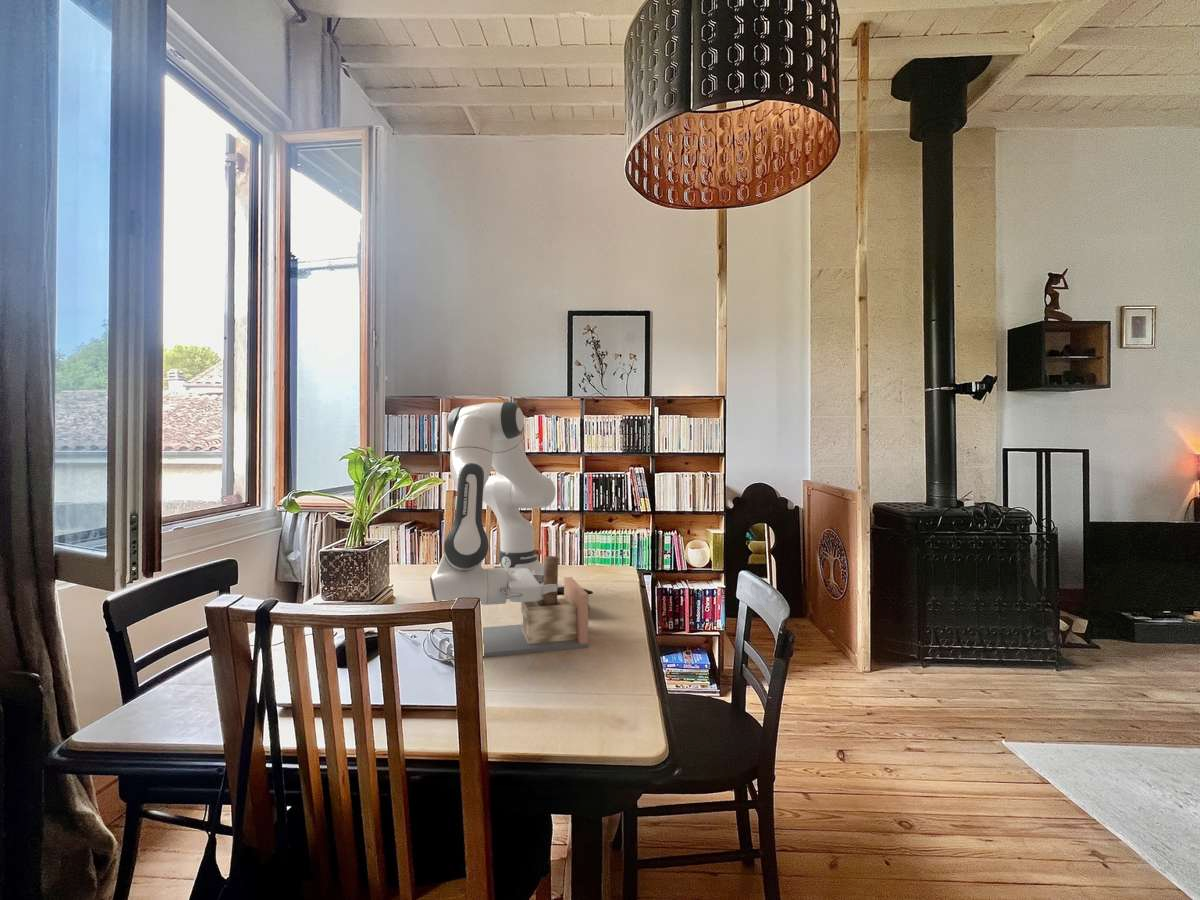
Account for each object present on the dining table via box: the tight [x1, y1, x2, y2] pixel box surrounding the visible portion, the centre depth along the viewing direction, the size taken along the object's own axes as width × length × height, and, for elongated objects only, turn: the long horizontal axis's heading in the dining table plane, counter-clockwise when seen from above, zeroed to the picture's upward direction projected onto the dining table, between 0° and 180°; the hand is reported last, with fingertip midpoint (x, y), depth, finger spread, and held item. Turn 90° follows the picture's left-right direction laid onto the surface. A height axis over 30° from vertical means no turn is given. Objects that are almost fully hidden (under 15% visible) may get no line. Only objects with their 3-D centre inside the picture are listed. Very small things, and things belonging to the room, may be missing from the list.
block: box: [520, 595, 577, 644], centre depth 145 cm, size 12×12×8 cm
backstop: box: [482, 576, 589, 658], centre depth 143 cm, size 27×18×13 cm, turn 106°
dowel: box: [542, 555, 559, 606], centre depth 145 cm, size 4×4×18 cm
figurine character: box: [557, 586, 594, 613], centre depth 167 cm, size 7×8×15 cm
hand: (552, 582), depth 145 cm, fingers open, 8 cm apart
